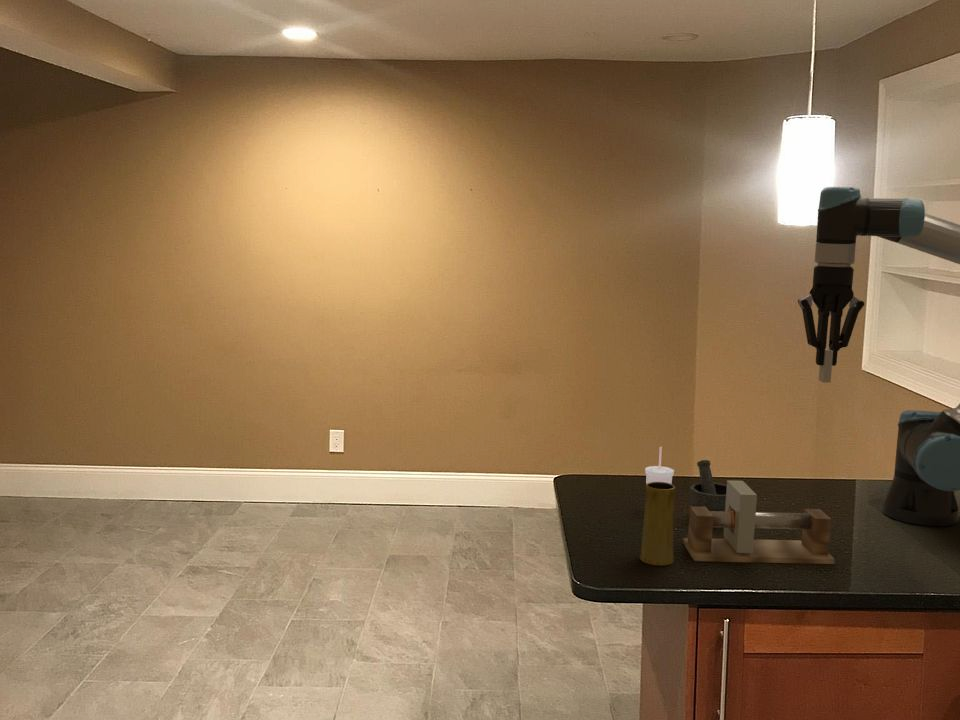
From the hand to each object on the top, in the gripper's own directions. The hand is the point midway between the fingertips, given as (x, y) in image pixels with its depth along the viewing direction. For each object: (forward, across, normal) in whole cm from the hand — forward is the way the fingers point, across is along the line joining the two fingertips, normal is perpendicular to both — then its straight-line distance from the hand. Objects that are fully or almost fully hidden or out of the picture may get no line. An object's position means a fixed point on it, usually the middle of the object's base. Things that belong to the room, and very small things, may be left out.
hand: (824, 381), depth 200 cm
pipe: (+26, +17, +18) cm, 36 cm away
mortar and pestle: (+31, +21, -2) cm, 37 cm away
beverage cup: (+31, +31, -8) cm, 44 cm away
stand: (+30, +17, +18) cm, 39 cm away
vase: (+31, +37, +23) cm, 53 cm away
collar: (+29, +21, +18) cm, 40 cm away
